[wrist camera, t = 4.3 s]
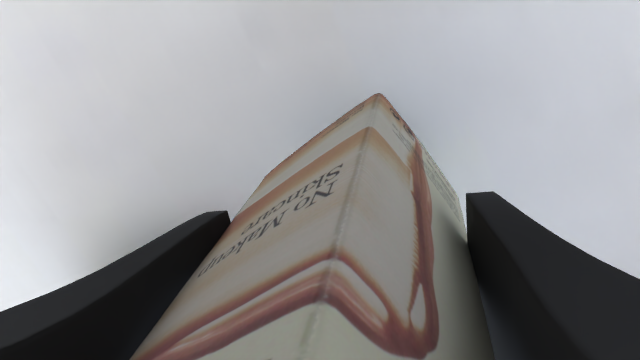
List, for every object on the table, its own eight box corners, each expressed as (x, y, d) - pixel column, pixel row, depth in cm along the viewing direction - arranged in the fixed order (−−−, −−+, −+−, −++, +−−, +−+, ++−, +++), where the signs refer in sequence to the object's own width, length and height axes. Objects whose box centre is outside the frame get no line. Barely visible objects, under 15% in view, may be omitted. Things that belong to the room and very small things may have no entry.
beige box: (378, 83, 12) (312, 419, 3) (462, 196, 13) (618, 713, 4) (252, 177, 14) (-28, 544, 5) (332, 267, 15) (230, 709, 6)
